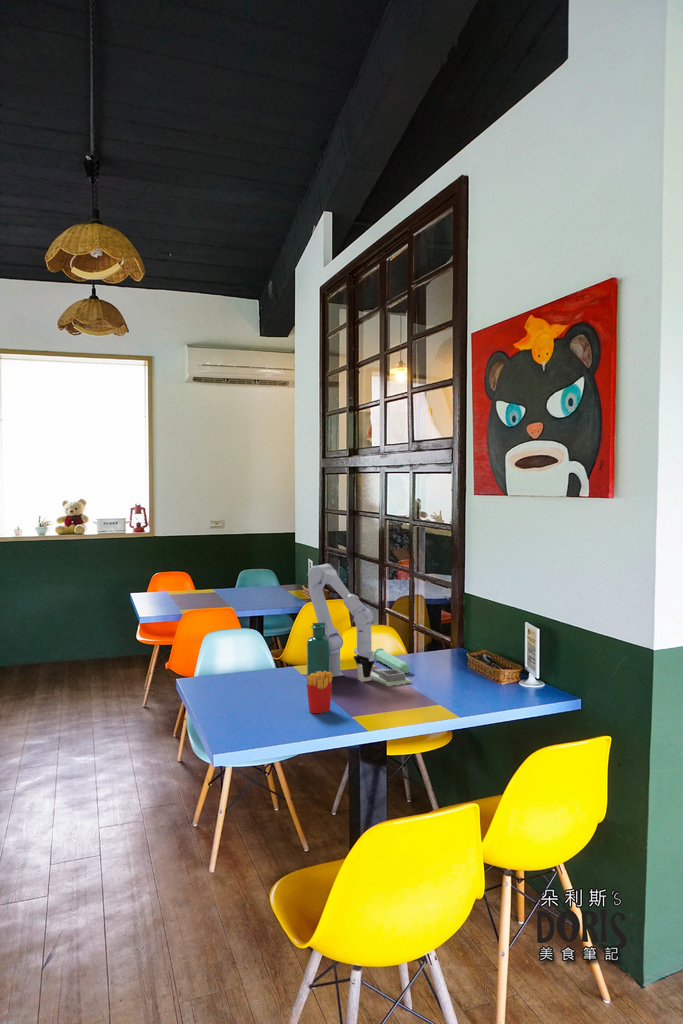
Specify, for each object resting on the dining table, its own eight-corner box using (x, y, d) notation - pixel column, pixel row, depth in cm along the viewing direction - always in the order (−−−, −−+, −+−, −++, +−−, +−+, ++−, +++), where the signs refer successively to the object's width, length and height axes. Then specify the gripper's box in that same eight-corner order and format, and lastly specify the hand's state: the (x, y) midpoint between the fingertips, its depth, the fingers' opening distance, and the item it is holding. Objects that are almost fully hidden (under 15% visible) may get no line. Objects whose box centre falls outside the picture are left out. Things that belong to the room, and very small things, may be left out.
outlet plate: (387, 686, 257) (387, 677, 256) (367, 674, 273) (367, 666, 273) (411, 683, 260) (410, 674, 260) (389, 671, 277) (389, 663, 277)
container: (409, 659, 273) (382, 645, 296) (397, 666, 271) (371, 651, 294) (414, 672, 274) (387, 657, 297) (402, 679, 272) (375, 663, 295)
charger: (361, 681, 264) (361, 666, 263) (357, 679, 267) (357, 663, 267) (371, 680, 265) (371, 665, 265) (367, 677, 269) (366, 662, 269)
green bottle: (329, 685, 259) (328, 627, 258) (307, 685, 259) (306, 627, 259) (330, 678, 269) (329, 622, 268) (308, 678, 269) (308, 622, 268)
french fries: (311, 715, 225) (311, 676, 224) (305, 711, 228) (304, 673, 228) (335, 710, 230) (335, 671, 229) (328, 706, 233) (328, 669, 233)
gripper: (381, 643, 260) (381, 679, 261) (365, 636, 274) (365, 669, 274) (364, 645, 258) (365, 681, 258) (349, 637, 271) (349, 671, 272)
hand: (364, 675), depth 266 cm, fingers closed on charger, 4 cm apart
